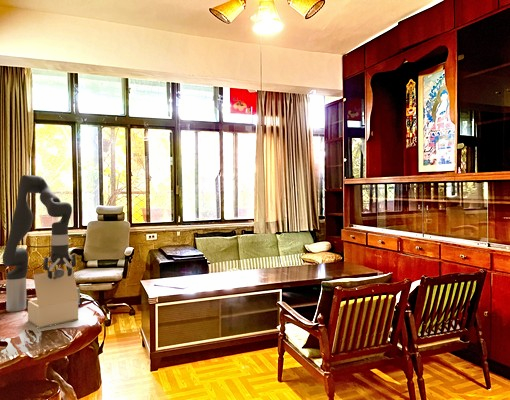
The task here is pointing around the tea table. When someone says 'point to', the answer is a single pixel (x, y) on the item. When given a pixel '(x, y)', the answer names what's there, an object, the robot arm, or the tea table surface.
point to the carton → (52, 313)
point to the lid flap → (55, 288)
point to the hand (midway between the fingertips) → (59, 277)
